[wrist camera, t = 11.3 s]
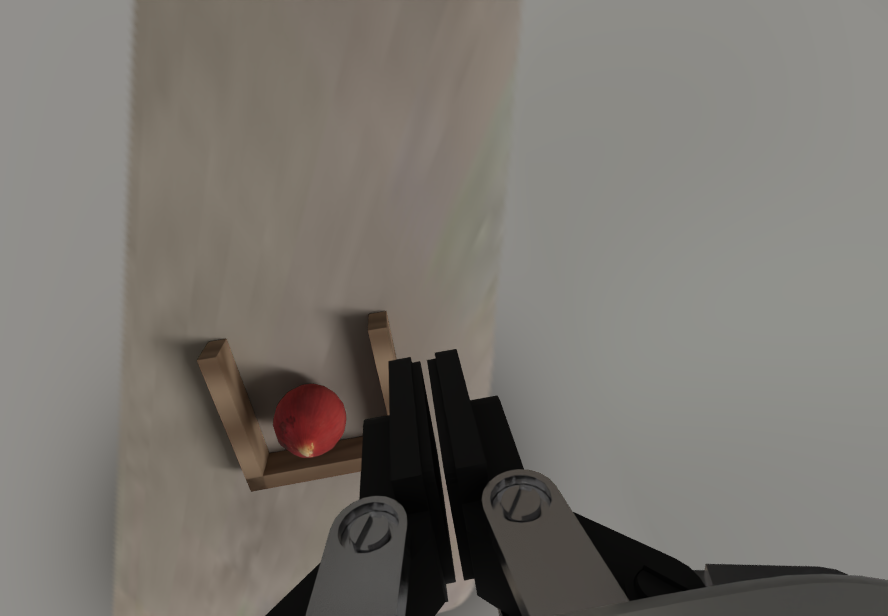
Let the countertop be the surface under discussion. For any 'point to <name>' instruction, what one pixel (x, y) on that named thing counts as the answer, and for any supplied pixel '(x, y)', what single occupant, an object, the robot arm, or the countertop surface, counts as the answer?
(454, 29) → the countertop surface
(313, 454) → the onion
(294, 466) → the corral
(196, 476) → the countertop surface
